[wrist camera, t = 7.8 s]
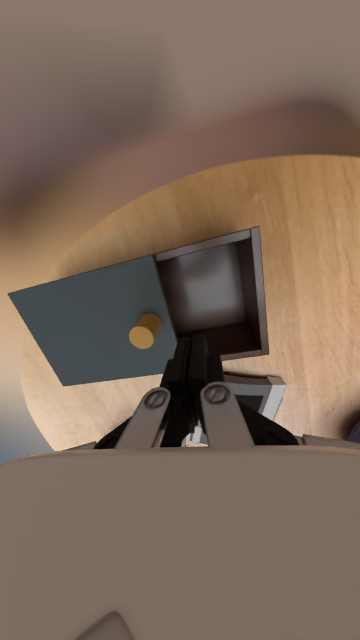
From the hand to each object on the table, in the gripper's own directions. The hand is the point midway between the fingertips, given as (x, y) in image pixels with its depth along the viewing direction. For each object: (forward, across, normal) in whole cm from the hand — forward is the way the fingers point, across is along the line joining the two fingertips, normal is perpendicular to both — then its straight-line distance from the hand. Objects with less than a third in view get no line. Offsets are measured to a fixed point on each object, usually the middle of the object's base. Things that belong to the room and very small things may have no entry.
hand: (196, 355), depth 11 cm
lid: (+8, +12, 0) cm, 15 cm away
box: (+18, +2, 0) cm, 18 cm away
